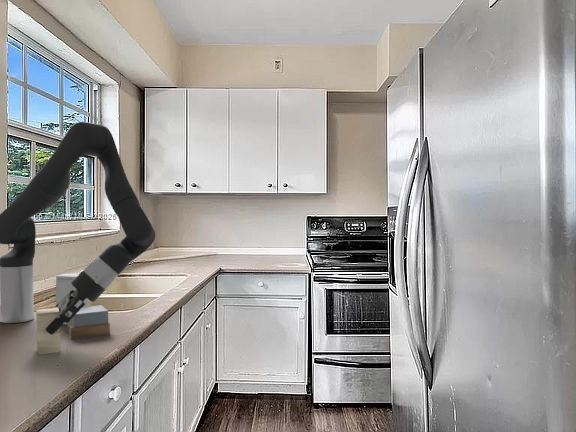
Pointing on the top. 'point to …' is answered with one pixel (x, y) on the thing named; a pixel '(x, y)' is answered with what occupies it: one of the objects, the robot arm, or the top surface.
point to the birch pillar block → (44, 339)
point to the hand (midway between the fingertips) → (47, 328)
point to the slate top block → (90, 316)
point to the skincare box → (65, 288)
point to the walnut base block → (88, 330)
